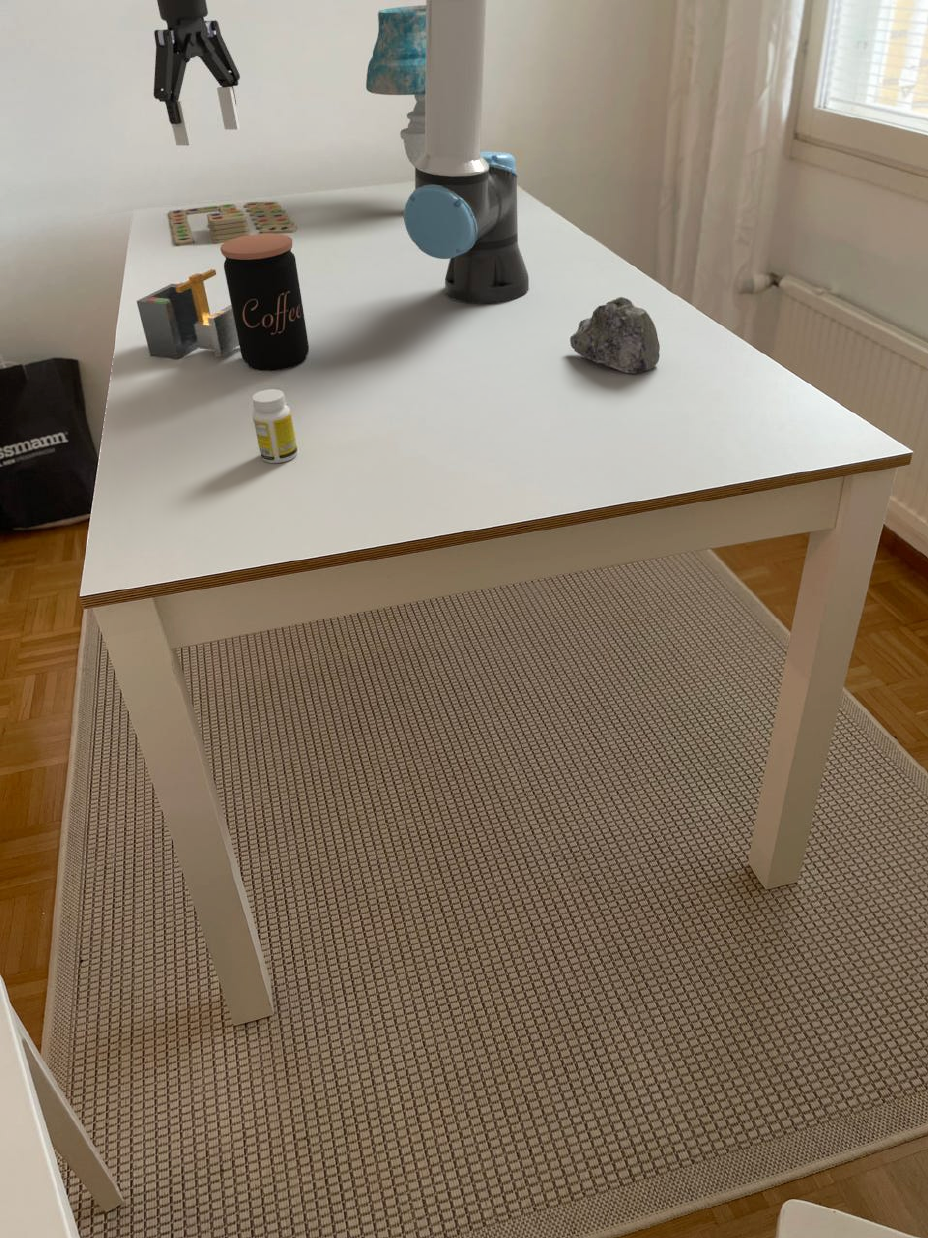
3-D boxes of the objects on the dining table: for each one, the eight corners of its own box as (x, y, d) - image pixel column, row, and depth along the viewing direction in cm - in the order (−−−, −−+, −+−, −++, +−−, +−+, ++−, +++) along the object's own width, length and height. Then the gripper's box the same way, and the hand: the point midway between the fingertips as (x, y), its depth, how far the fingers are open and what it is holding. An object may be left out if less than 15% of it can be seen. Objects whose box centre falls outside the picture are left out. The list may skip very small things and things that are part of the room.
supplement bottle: (299, 446, 130) (289, 386, 125) (296, 462, 126) (285, 401, 121) (263, 449, 130) (251, 389, 125) (258, 465, 126) (246, 404, 121)
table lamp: (369, 207, 233) (347, 9, 209) (464, 194, 238) (454, 0, 214) (393, 231, 214) (373, 17, 191) (496, 216, 219) (489, 6, 196)
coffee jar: (246, 377, 151) (222, 257, 140) (240, 353, 159) (217, 238, 149) (315, 366, 153) (296, 247, 142) (305, 343, 161) (287, 229, 151)
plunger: (252, 336, 161) (239, 268, 155) (219, 357, 155) (204, 287, 148) (224, 333, 163) (210, 266, 157) (190, 353, 157) (174, 284, 150)
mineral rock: (566, 352, 152) (566, 286, 146) (631, 341, 154) (634, 277, 148) (597, 382, 141) (598, 313, 136) (666, 371, 143) (670, 302, 138)
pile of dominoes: (300, 235, 218) (296, 209, 215) (177, 252, 213) (171, 225, 210) (278, 201, 246) (274, 178, 242) (168, 215, 240) (162, 191, 237)
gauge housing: (211, 339, 165) (199, 284, 159) (178, 359, 158) (164, 301, 153) (184, 336, 167) (171, 281, 162) (150, 355, 160) (135, 299, 155)
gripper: (207, -17, 165) (233, 122, 178) (107, -2, 148) (144, 151, 160) (244, -19, 163) (268, 122, 175) (146, -5, 145) (181, 152, 157)
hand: (209, 136), depth 167 cm, fingers open, 13 cm apart
